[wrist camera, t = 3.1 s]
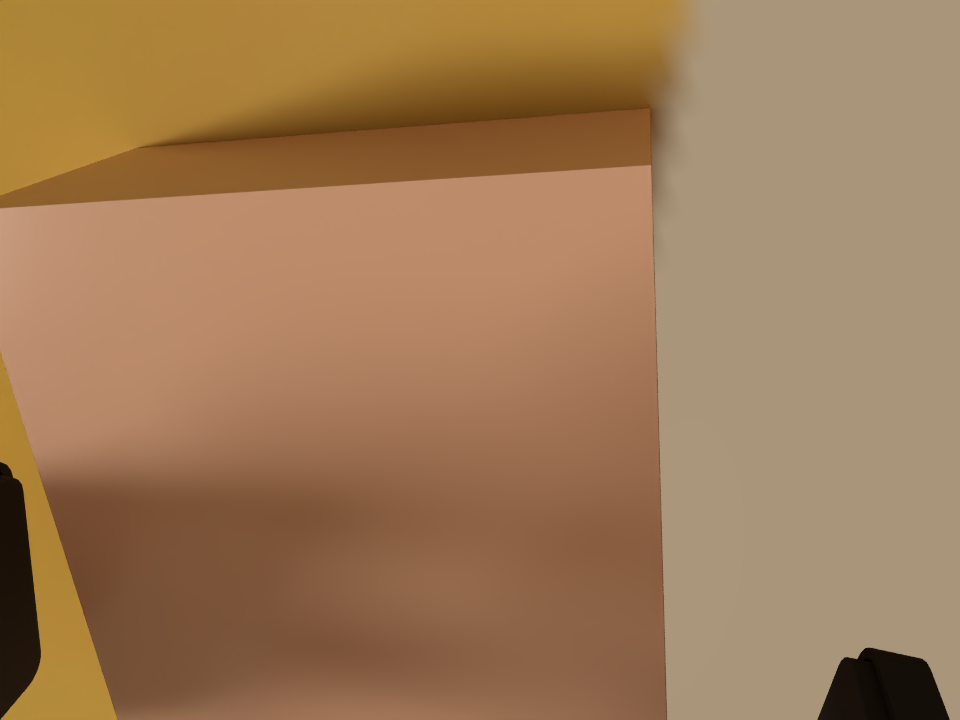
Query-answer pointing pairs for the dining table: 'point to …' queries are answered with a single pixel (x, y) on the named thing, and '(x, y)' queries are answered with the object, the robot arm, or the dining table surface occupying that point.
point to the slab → (353, 419)
